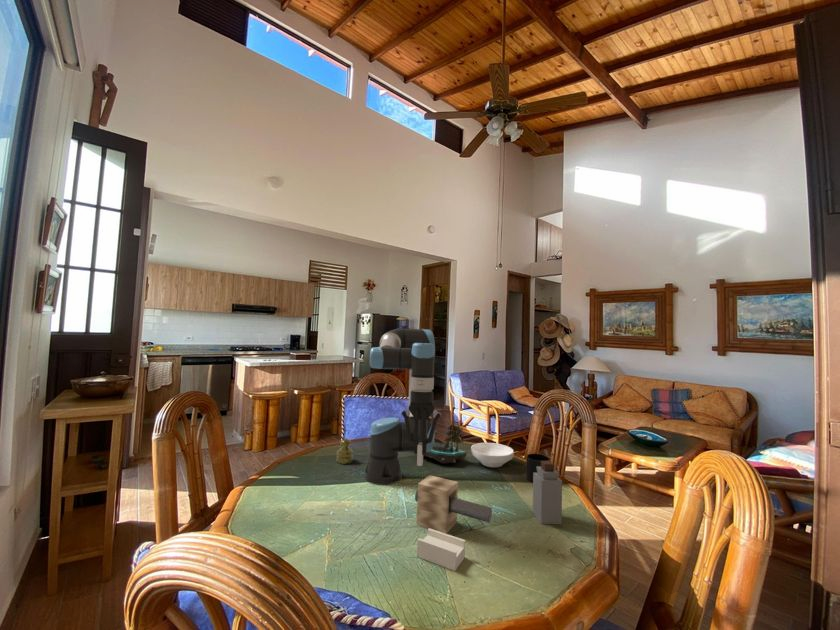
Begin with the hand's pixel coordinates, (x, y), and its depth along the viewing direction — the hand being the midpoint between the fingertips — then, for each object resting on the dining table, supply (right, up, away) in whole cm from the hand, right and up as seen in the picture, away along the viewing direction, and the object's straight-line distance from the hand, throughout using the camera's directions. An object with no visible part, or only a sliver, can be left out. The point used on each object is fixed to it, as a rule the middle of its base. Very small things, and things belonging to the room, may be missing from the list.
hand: (419, 464), depth 115 cm
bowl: (+33, -21, +50) cm, 64 cm away
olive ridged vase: (-34, -19, +48) cm, 62 cm away
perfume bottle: (+42, -19, +2) cm, 46 cm away
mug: (+50, -21, +34) cm, 64 cm away
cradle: (+6, -16, -20) cm, 26 cm away
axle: (+10, -12, -5) cm, 17 cm away
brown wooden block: (+5, -17, -3) cm, 18 cm away
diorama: (+9, -21, +57) cm, 61 cm away
